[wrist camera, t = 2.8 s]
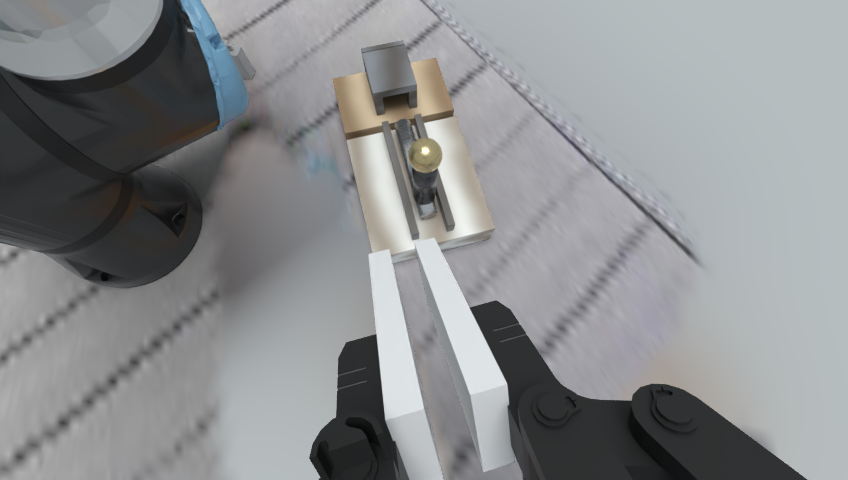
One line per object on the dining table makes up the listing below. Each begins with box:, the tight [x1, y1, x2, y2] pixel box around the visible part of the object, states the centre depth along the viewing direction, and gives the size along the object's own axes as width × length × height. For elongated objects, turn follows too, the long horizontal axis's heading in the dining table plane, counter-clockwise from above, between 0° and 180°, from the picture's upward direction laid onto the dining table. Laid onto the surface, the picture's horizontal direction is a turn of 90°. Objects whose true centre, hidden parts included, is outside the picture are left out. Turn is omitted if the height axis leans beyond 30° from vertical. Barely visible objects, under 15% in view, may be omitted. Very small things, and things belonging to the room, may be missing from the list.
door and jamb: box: [332, 40, 495, 263], centre depth 42 cm, size 14×25×8 cm, turn 15°
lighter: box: [221, 39, 256, 80], centre depth 46 cm, size 7×2×8 cm, turn 79°
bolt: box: [394, 119, 442, 219], centre depth 35 cm, size 3×12×12 cm, turn 15°
